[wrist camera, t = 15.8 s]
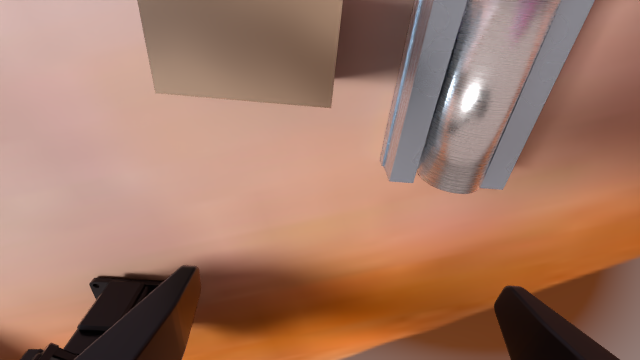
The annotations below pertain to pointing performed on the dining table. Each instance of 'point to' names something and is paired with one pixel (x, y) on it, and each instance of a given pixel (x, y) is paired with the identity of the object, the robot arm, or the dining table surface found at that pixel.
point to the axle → (482, 89)
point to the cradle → (429, 75)
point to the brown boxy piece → (244, 49)
